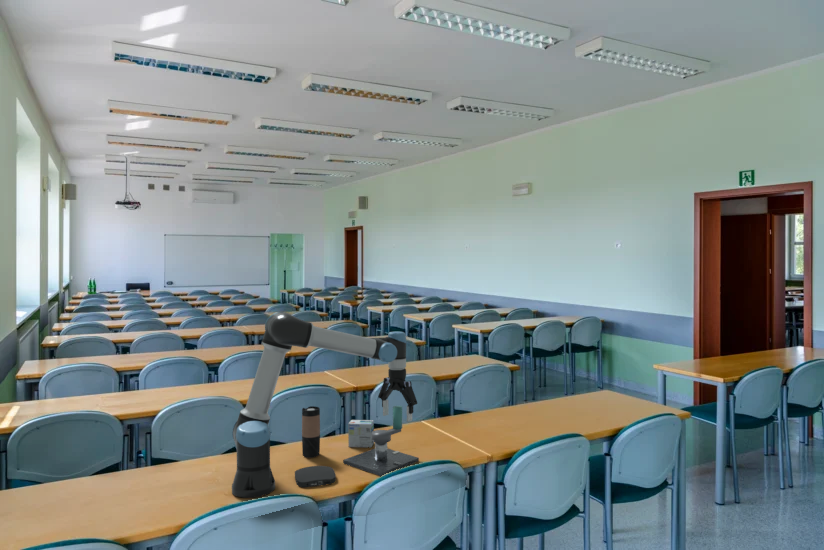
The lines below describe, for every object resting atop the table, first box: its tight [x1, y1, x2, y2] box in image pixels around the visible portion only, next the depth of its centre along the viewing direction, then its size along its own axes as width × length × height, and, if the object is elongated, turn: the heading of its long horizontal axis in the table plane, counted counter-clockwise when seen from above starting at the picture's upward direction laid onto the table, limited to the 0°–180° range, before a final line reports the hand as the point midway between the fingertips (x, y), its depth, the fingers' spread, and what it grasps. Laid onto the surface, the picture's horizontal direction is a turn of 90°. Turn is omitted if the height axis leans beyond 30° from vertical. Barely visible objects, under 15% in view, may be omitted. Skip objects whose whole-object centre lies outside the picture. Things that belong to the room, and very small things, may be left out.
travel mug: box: [301, 405, 321, 459], centre depth 239 cm, size 8×8×20 cm
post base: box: [342, 442, 420, 477], centre depth 230 cm, size 22×22×9 cm
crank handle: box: [371, 405, 403, 444], centre depth 233 cm, size 8×16×12 cm, turn 139°
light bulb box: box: [347, 419, 375, 449], centre depth 252 cm, size 11×7×11 cm, turn 84°
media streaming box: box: [294, 465, 337, 488], centre depth 213 cm, size 15×15×3 cm
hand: (397, 418), depth 237 cm, fingers open, 13 cm apart
